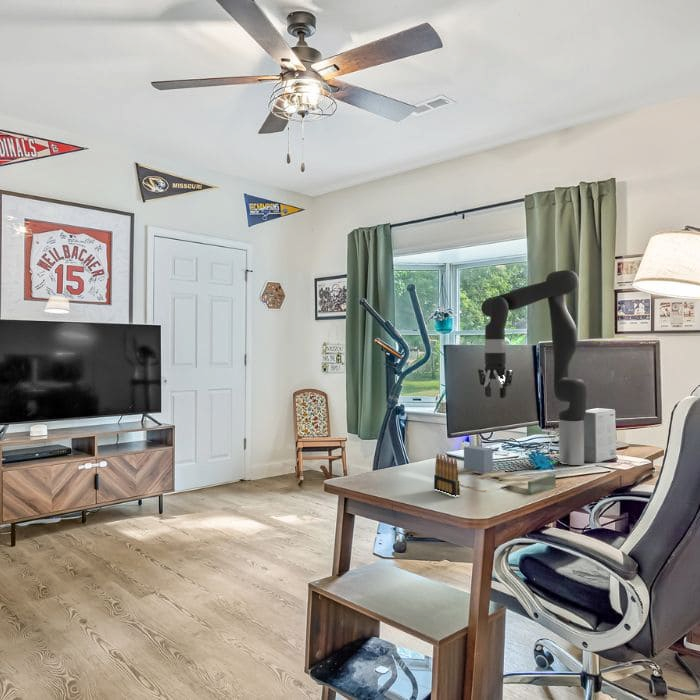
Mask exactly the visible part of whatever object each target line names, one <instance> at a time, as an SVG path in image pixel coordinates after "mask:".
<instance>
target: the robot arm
mask: <svg viewBox="0 0 700 700" xmlns="http://www.w3.org/2000/svg"><path fill="white" fill-rule="evenodd" d="M579 283H580V279H579V276H578V274H577V273H576V272H575V271H573V270H569V269H565V270H556V271H551V272H550V273H548V275H547V276H546V278H545V281H542V282H539V283H534V284H530V285H529V284H528V285H526V286H522V287H519V288H517V289H513V290H511V291H508V292H506V293H503V294H499V295H495V296H492V297H489V298H486V299H485V300H484V301H483V302H482V304H481V308H480V309H481V310H480V311H481V312H482V314H483V315H484V316H486V317H489V318H490V321H489V323H487V324H486V325H485V328H484V331H485V332H484V334H485V335H484V336H485V337H484V364H485V367H484V368H478V371H477V372H478V377H479V385H481V386H483V387H484V394H485V397H486V398H491V397H492V387H491V385H492V383H493V381H494V380H496V381H497V383H498V384H499V398H500V399H505V398H506V396H507V387H511V386H512V379H513V375H514V373H513V372H514V370H513V369H507V368H506V363H507V362H506V360H507V359H506V356H507V355H506V353H507V352H506V348H507V347H506V334H505V333H506V329H505V328H506V325H507V320H508V317H509V316H508V315H509V311H514V310H519V309H521V308H523V307H526V306H529V305H531V304H534V303H537V302H539V301H542V300H545V299H547V302H548V307H549V316H550V326H551V341H552V342H551V343H552V350H553V351H552V352H553V368H554V369H553V392H554V396H555V398H556V400H558V401H559V402H564V403H569V405H568V408H566V409H564V410H562V411H560V412H559V413H558V450H559V451H558V462H559V461H561V462H563V463H567V464H570V465H581V466H585V461H584V416H585V412H586V410H587V398H588V397H587V396H588V395H587V394H588V390H587V389H588V388H587V385H586V383H585V382H584V380H582V379H580V378H570V377H569V367H570V362H571V361H572V358H573V356H574V355H575V352H576V350H577V348H578V342H579V341H578V330H577V324H576V323H575V321H574V319H573V317H572V316H571V314H570V312H569V310H568V307H567V302H566V295H570V294H572V293H573V292H574V293H575V291H576V290H577V289H578V287H579Z"/></svg>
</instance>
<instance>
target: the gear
mask: <svg viewBox="0 0 700 700" xmlns="http://www.w3.org/2000/svg"><path fill="white" fill-rule="evenodd" d="M545 455H546V452H544V451H542V452H541V451H540V450H538V449H537V450H532V451H531V452H530V454H529V456H528V458H529V464H533V465H532V467H533V469H536V468H539V469H538V471H540V472H541V471H543V470H546V471H547V470H550V471H554V470H555V468H556V466H554V465H555V464H556V463H557V461H556V459H554V460H551V458H552V457H551V456H550V455H547V456H545Z"/></svg>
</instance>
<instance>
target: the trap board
mask: <svg viewBox="0 0 700 700" xmlns="http://www.w3.org/2000/svg"><path fill="white" fill-rule="evenodd" d="M473 473H476V474H481V475H478V476H474V478H475V479H479V480H487V479H491V478H499V479H503V480H500V481H496V483H498V484H502V485H505V486H501V487H500V489H503V490H504V489H505V490H509V491H513V492H518V493H522V494H527V495H531V496H532V495H535V494H538V493H542V492H545V491H548V490H551V489H554V488H557V486H556V475H555V474H553V473H552V474H549V475H546V476H541V477H539V478H538V477H537V478H534V477H530V476H525V475H519V474H515V473H510V472H505V471H502V470H497V469H496V470H495V469H493V471H491V472H487V473H481V472H476V471H472V470H467V469H464V467H463V468H459V469H458V475H461V476H465V475H467V474H473Z"/></svg>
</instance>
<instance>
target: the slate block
mask: <svg viewBox="0 0 700 700" xmlns="http://www.w3.org/2000/svg"><path fill="white" fill-rule="evenodd" d="M493 452H494V451H493V448H491V447H485V446H479V445H478V446H477V445H468V446H463V468H464V469H467V470H472V471H476V472H481V473H487V472H491V471H493V470H494V465H493V464H494V463H493V461H494V457H493V456H494V453H493Z"/></svg>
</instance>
